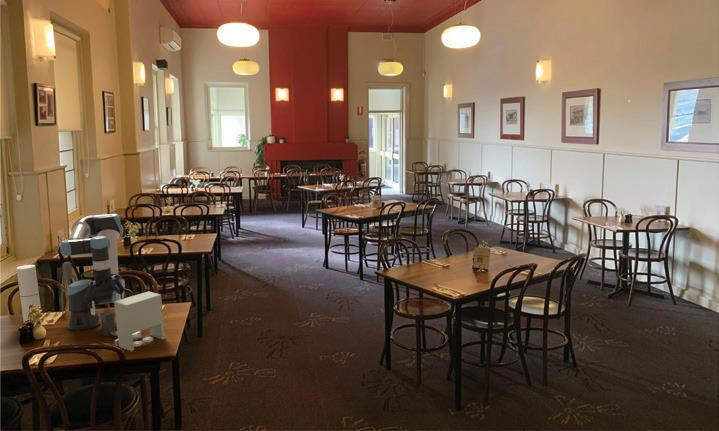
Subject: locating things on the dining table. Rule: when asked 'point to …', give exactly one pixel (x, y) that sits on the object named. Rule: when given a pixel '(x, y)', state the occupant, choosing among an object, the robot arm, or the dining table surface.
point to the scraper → (113, 327)
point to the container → (28, 288)
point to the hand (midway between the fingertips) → (106, 310)
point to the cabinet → (139, 317)
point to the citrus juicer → (68, 276)
